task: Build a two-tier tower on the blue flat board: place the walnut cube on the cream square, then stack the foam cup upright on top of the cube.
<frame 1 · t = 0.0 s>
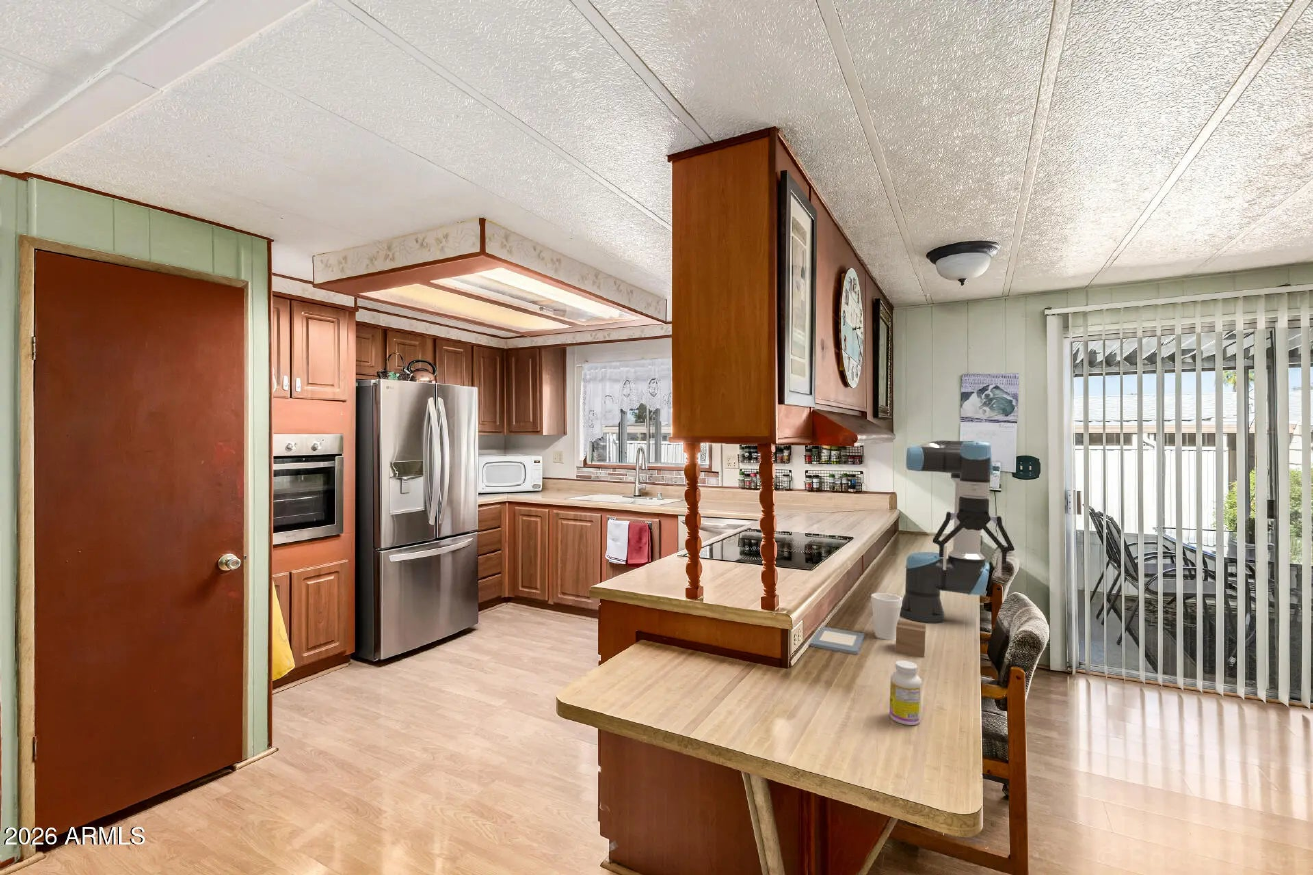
hand: (971, 572, 167), 28 cm above the counter, fingers open, 13 cm apart
supplement bottle: (904, 720, 138), on the counter
walnut cube: (910, 650, 182), on the counter
blue flat board: (838, 641, 189), on the counter
foam cup: (885, 636, 195), on the counter
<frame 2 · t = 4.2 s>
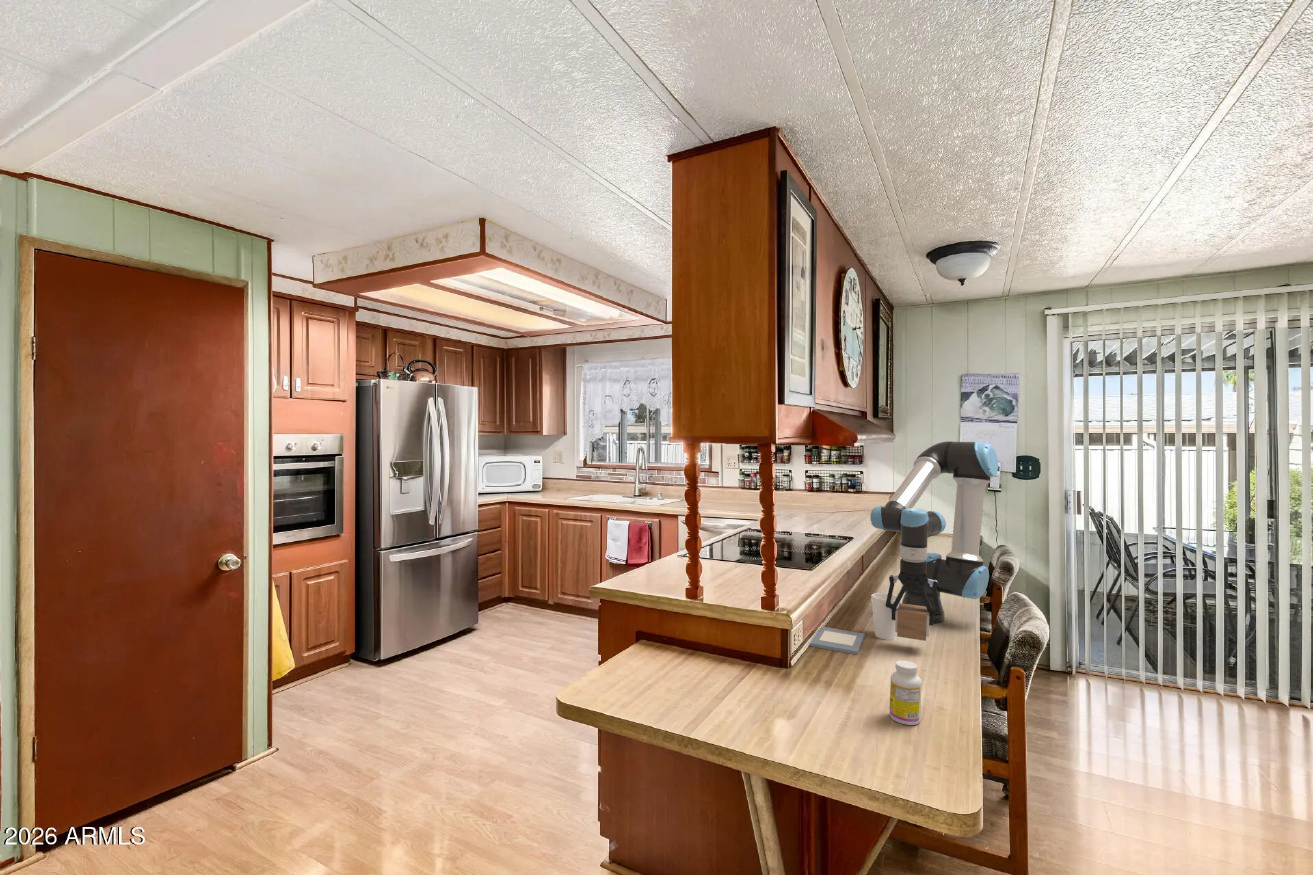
hand: (911, 632, 183), 5 cm above the counter, fingers closed on walnut cube, 8 cm apart
walnut cube: (911, 634, 183), point 5 cm above the counter, touching gripper
everything else where it was.
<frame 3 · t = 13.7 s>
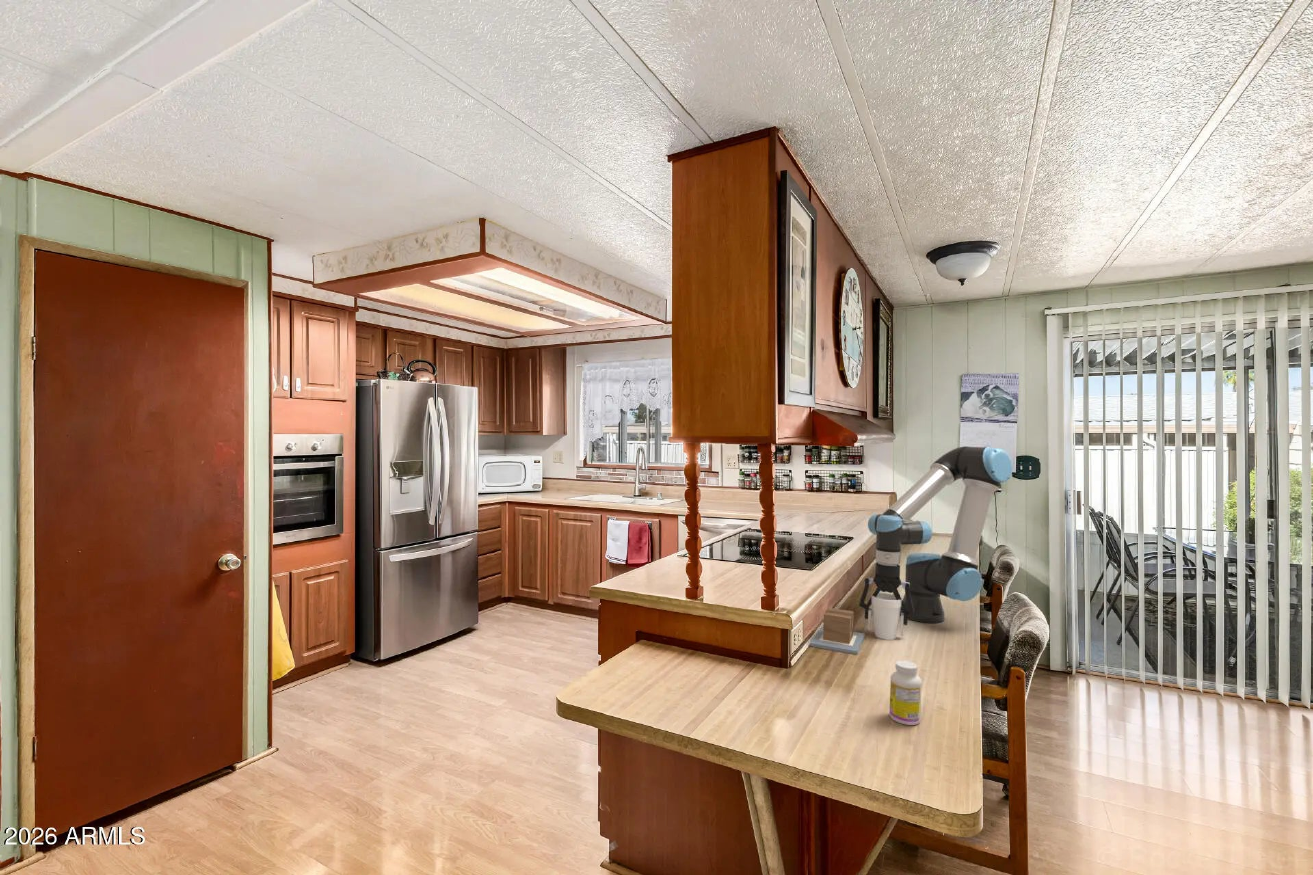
hand: (885, 631, 195), 2 cm above the counter, fingers closed on foam cup, 9 cm apart
walnut cube: (838, 637, 189), point 1 cm above the counter, touching blue flat board
foam cup: (885, 636, 195), on the counter, touching gripper
everything else where it was.
when the fingers open (12 cm above the counter, at t = 18.3 s): foam cup drops 1 cm, resting on walnut cube.
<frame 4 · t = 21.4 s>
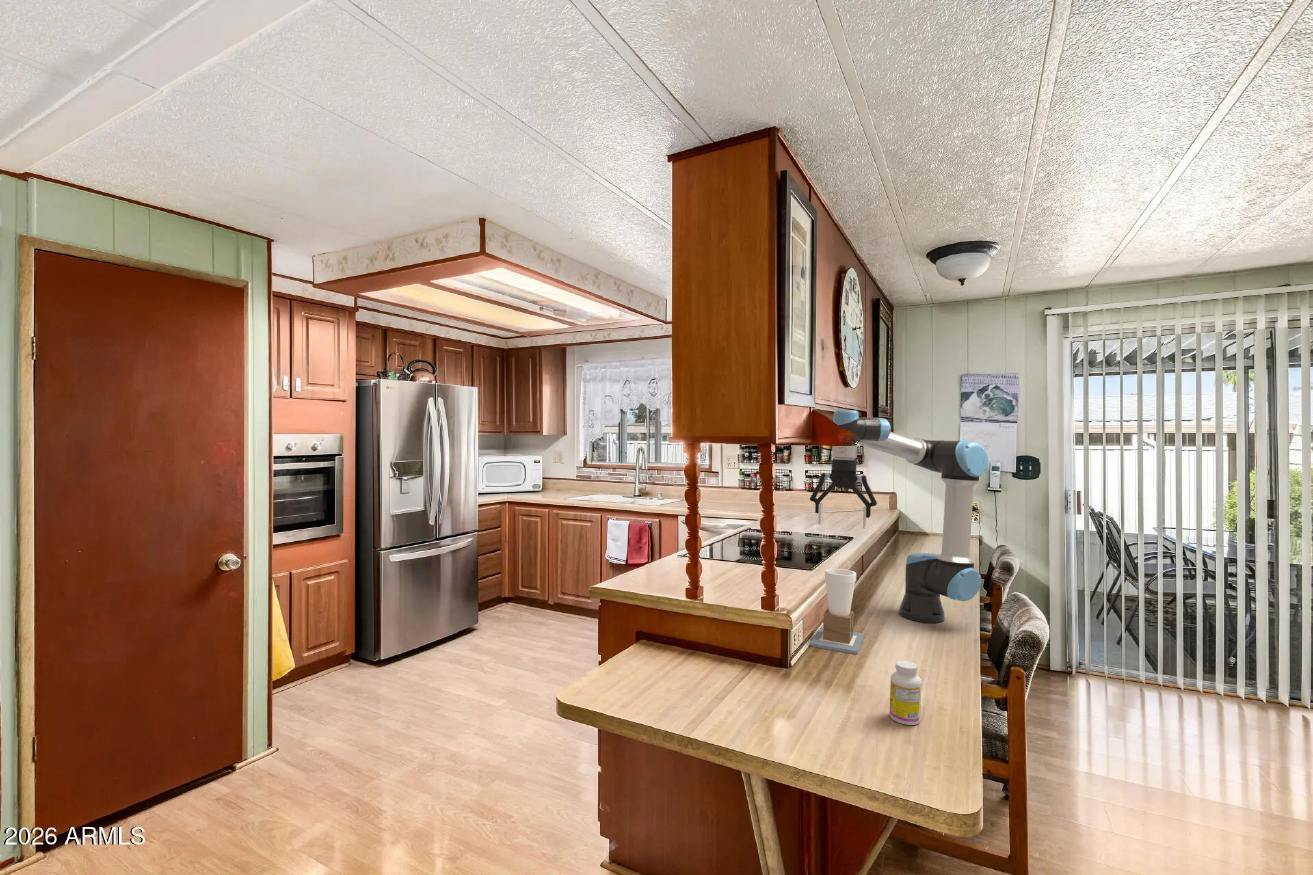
hand: (841, 525, 188), 37 cm above the counter, fingers open, 13 cm apart
walnut cube: (838, 637, 189), point 1 cm above the counter, touching blue flat board, foam cup
foam cup: (839, 613, 189), point 9 cm above the counter, touching walnut cube
everything else where it was.
at the end: walnut cube inside the target area on the blue flat board (0.1 cm from its centre), point 1.1 cm above the blue flat board's base; foam cup 0.1 cm from the walnut cube (horizontally); foam cup point 8.9 cm above the counter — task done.
